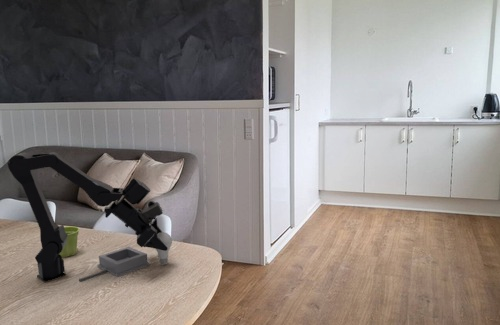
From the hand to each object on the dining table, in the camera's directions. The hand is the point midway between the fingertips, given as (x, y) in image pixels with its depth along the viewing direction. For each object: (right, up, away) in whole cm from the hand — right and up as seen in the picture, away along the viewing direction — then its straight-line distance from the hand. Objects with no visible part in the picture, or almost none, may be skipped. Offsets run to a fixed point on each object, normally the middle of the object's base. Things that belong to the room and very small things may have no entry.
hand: (166, 244), depth 141 cm
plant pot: (-38, -6, +13) cm, 40 cm away
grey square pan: (-17, -8, -2) cm, 19 cm away
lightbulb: (-1, -7, +1) cm, 7 cm away
